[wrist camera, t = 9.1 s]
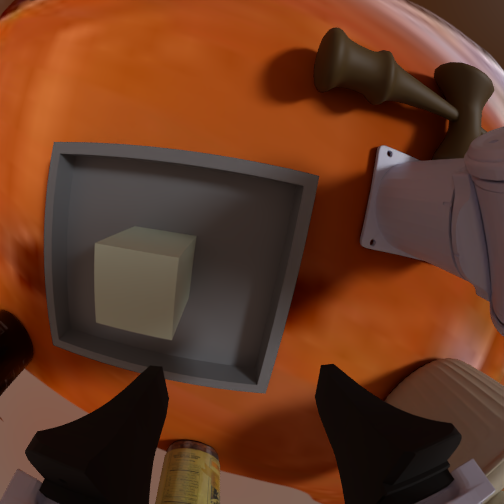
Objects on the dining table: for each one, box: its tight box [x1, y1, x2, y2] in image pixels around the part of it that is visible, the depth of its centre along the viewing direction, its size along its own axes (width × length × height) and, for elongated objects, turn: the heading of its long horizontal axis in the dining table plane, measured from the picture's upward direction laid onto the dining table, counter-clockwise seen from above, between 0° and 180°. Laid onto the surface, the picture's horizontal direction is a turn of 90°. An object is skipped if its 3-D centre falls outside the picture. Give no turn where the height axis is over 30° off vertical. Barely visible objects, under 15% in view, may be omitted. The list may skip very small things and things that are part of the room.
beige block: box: [94, 226, 197, 340], centre depth 16 cm, size 4×4×6 cm
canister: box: [384, 358, 504, 504], centre depth 15 cm, size 18×18×21 cm
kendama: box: [314, 28, 494, 160], centre depth 15 cm, size 6×10×20 cm
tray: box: [44, 142, 319, 393], centre depth 18 cm, size 18×16×3 cm
